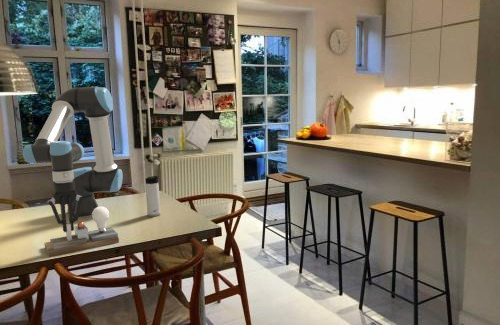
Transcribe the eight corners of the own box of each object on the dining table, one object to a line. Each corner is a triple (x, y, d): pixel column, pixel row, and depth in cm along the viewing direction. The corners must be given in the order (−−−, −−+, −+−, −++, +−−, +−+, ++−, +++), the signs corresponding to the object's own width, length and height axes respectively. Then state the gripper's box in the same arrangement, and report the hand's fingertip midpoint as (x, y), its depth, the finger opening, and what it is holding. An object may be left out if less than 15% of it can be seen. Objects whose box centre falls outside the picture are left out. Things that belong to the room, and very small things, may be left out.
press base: (44, 247, 164) (44, 239, 164) (110, 234, 178) (110, 226, 178) (49, 256, 154) (48, 248, 154) (118, 242, 168) (118, 234, 168)
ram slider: (75, 238, 167) (73, 221, 166) (85, 236, 169) (84, 220, 168) (78, 242, 162) (76, 225, 161) (88, 240, 164) (87, 223, 163)
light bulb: (113, 232, 170) (111, 206, 169) (98, 236, 166) (96, 209, 164) (105, 228, 175) (103, 203, 173) (90, 232, 170) (88, 207, 168)
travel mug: (157, 217, 203) (155, 177, 199) (145, 216, 204) (142, 177, 201) (162, 213, 209) (160, 174, 206) (150, 213, 210) (148, 174, 207)
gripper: (46, 184, 153) (53, 245, 156) (83, 180, 160) (88, 238, 164) (43, 181, 159) (49, 240, 163) (79, 177, 166) (84, 233, 170)
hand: (69, 239), depth 163 cm, fingers closed
